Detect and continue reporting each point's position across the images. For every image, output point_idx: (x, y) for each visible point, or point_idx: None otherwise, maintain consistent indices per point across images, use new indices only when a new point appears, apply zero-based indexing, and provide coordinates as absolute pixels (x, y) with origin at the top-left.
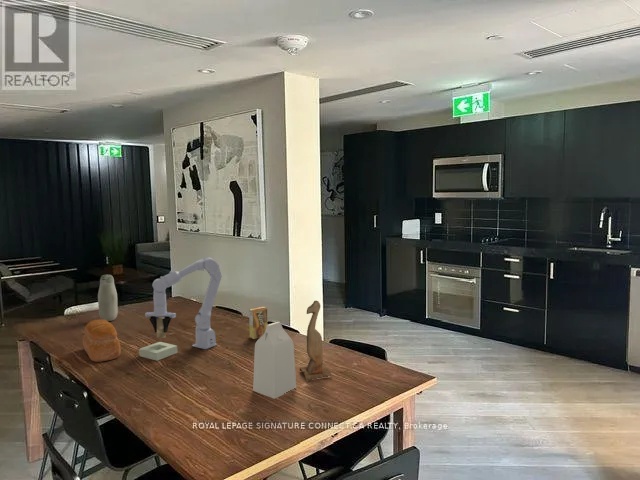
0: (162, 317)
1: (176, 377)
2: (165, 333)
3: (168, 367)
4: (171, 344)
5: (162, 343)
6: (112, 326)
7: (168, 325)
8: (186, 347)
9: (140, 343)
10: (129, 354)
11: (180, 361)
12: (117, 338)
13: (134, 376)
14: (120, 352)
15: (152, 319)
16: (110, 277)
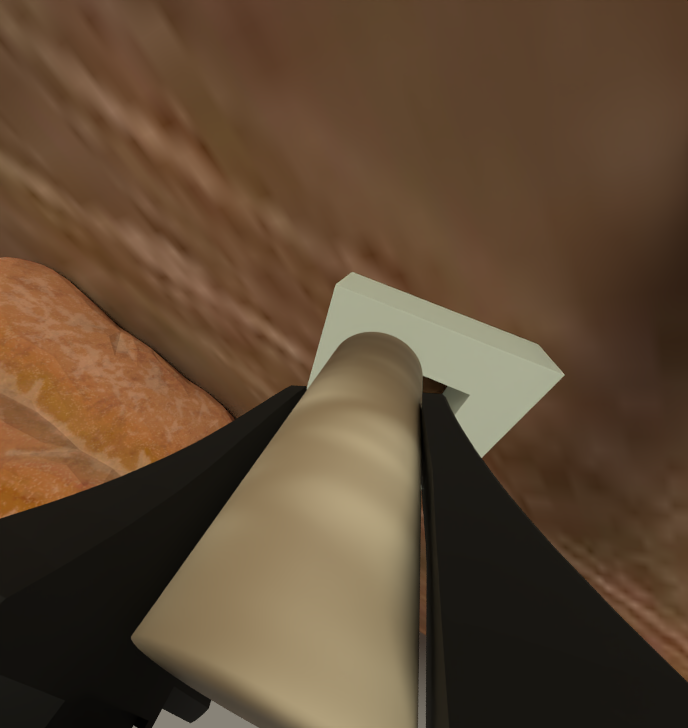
0: (200, 658)
1: (613, 607)
2: (421, 393)
3: (540, 530)
4: (487, 345)
5: (384, 327)
6: (3, 506)
7: (484, 463)
8: (612, 176)
9: (142, 182)
10: (249, 384)
11: (602, 478)
12: (137, 455)
13: (422, 564)
14: (222, 418)
15: (184, 714)
16: None
